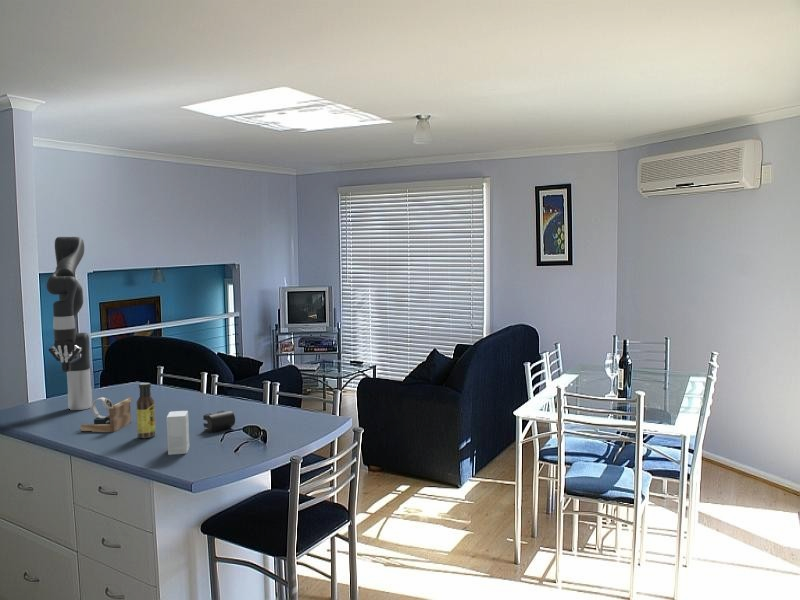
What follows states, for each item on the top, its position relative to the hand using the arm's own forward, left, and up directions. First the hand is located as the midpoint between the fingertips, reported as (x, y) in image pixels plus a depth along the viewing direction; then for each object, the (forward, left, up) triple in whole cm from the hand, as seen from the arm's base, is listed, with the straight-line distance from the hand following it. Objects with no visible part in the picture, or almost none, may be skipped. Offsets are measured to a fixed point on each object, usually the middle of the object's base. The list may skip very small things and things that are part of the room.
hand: (66, 371), depth 262 cm
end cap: (+3, +61, -22) cm, 65 cm away
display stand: (0, +15, -22) cm, 27 cm away
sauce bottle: (+13, +37, -22) cm, 45 cm away
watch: (-2, +13, -22) cm, 26 cm away
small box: (+30, +56, -22) cm, 68 cm away
